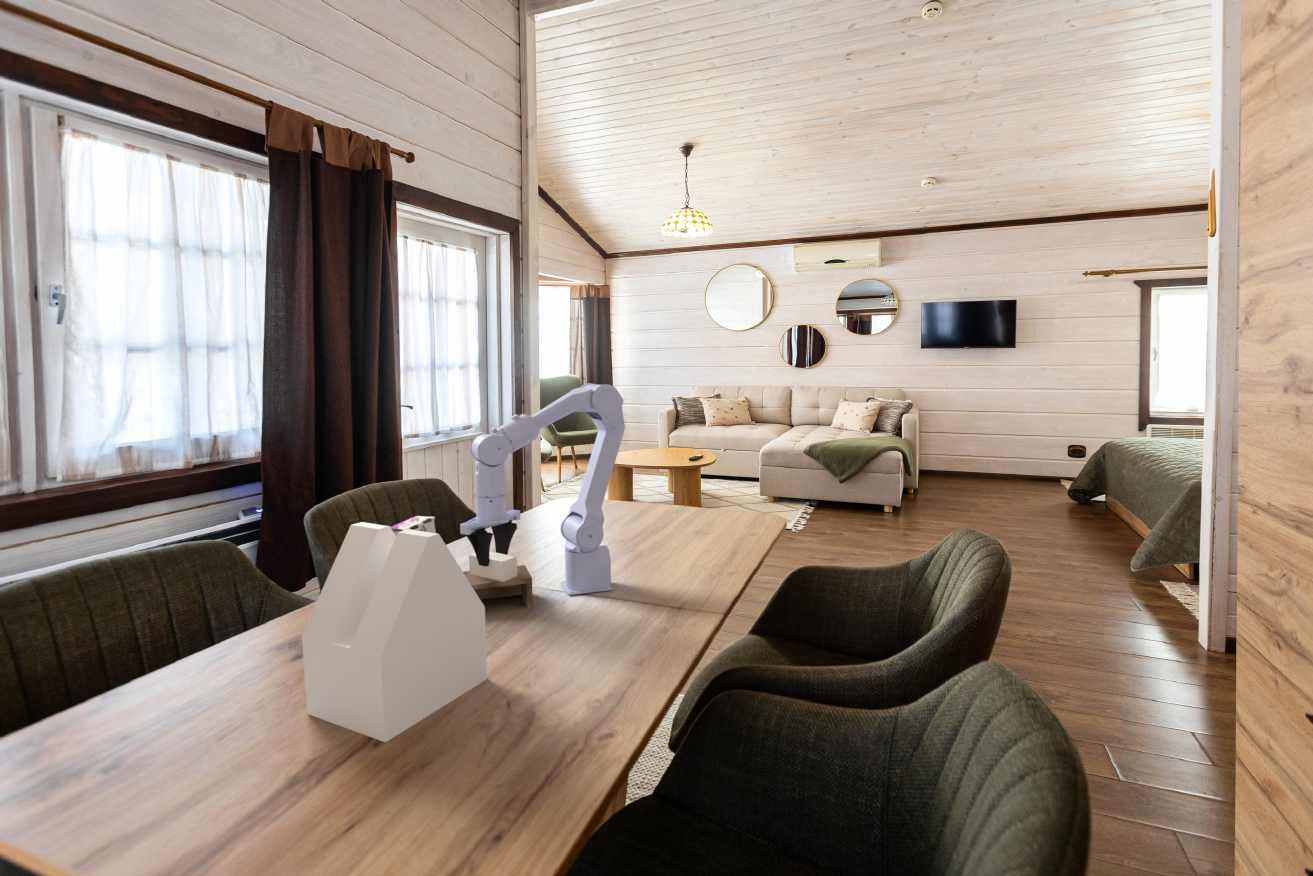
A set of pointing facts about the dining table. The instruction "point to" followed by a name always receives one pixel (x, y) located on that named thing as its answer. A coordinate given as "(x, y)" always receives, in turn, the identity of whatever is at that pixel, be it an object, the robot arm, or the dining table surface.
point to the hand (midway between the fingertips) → (492, 562)
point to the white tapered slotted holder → (392, 633)
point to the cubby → (503, 586)
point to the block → (495, 567)
